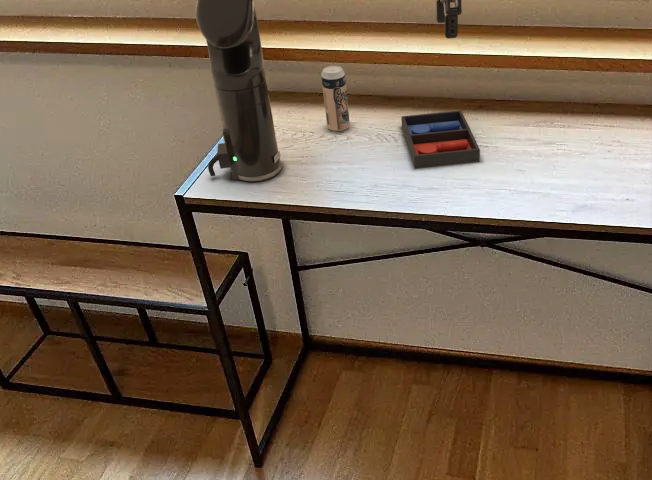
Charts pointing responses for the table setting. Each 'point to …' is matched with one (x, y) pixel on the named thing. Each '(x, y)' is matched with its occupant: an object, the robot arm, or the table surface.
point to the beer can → (335, 98)
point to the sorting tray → (440, 139)
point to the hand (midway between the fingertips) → (446, 29)
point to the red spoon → (442, 147)
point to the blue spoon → (435, 127)
